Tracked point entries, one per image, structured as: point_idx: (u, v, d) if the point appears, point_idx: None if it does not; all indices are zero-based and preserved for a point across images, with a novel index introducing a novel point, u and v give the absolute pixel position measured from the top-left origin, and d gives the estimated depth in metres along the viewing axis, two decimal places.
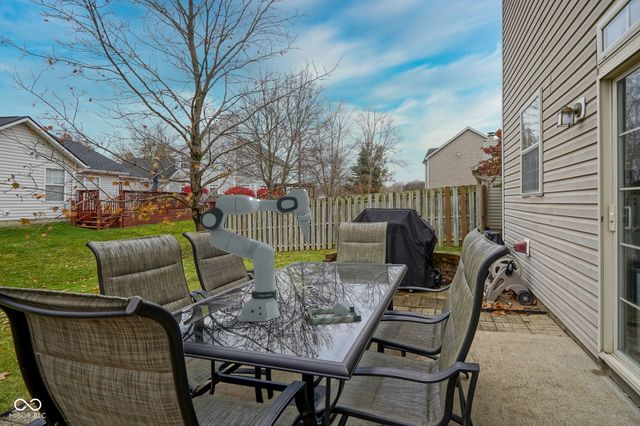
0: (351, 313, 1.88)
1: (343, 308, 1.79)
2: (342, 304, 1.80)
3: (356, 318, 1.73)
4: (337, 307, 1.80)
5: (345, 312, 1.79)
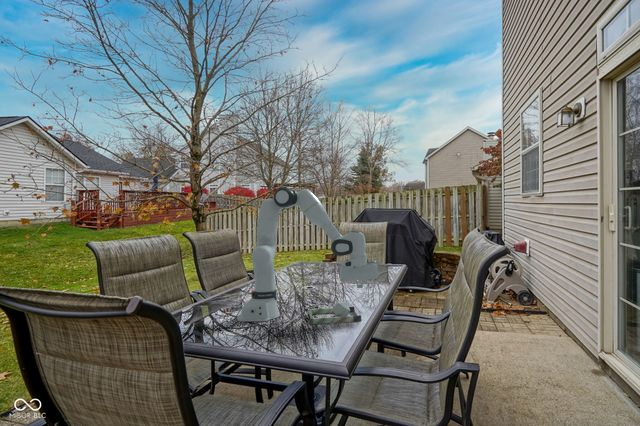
0: (351, 313, 1.88)
1: (343, 308, 1.79)
2: (342, 304, 1.80)
3: (356, 318, 1.73)
4: (337, 307, 1.80)
5: (345, 312, 1.79)
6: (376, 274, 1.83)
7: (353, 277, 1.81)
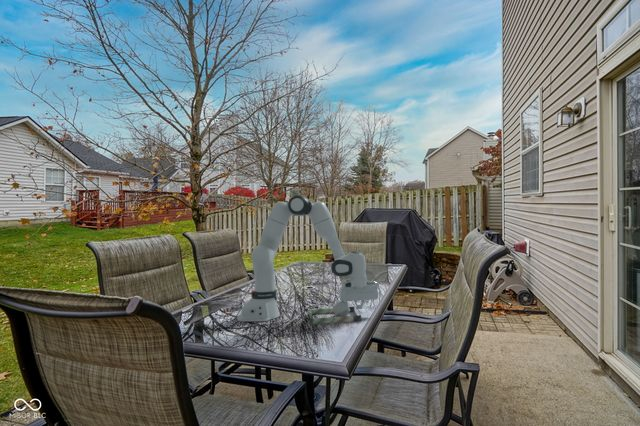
0: (351, 313, 1.88)
1: (343, 308, 1.79)
2: (342, 304, 1.80)
3: (356, 318, 1.73)
4: (337, 307, 1.80)
5: (345, 312, 1.79)
6: (376, 295, 1.82)
7: (353, 298, 1.81)
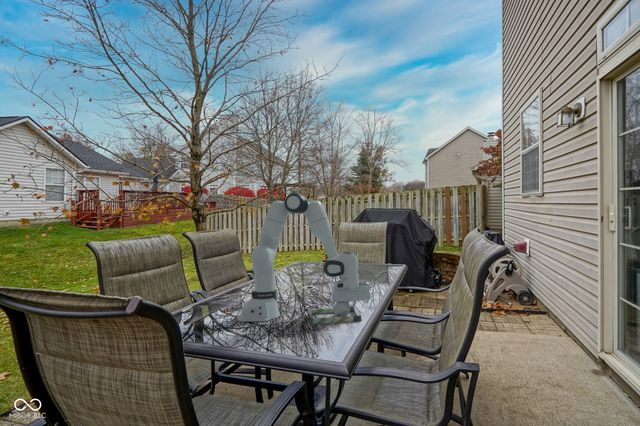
0: (351, 313, 1.88)
1: (343, 308, 1.79)
2: (342, 304, 1.80)
3: (356, 318, 1.73)
4: (337, 307, 1.80)
5: (345, 312, 1.79)
6: (368, 296, 1.82)
7: (345, 299, 1.81)
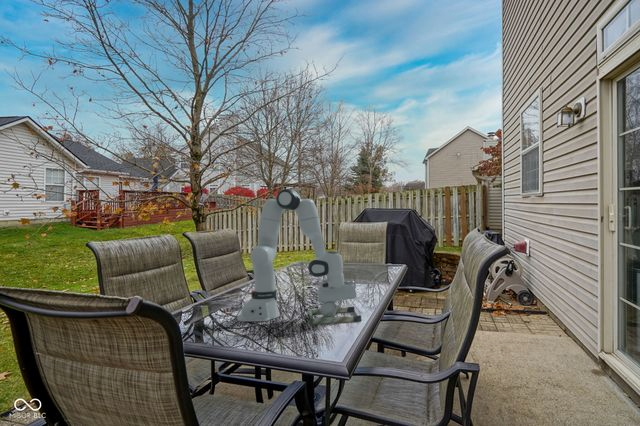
0: (351, 313, 1.88)
1: (330, 308, 1.78)
2: (328, 304, 1.79)
3: (356, 318, 1.73)
4: (323, 307, 1.79)
5: (332, 312, 1.78)
6: (354, 294, 1.81)
7: (330, 298, 1.80)
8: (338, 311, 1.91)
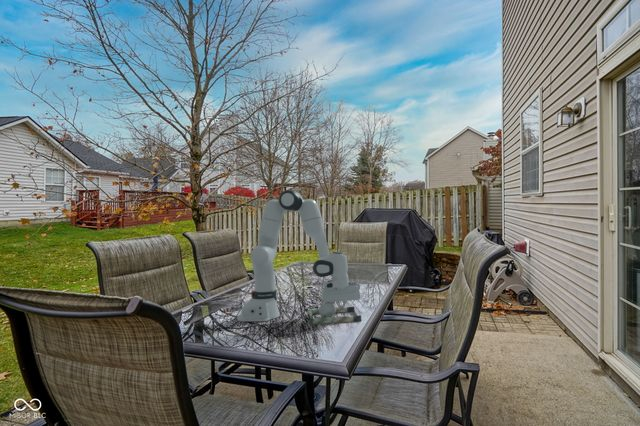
0: (351, 313, 1.88)
1: (328, 309, 1.78)
2: (328, 305, 1.79)
3: (356, 318, 1.73)
4: (322, 308, 1.79)
5: (330, 313, 1.78)
6: (358, 296, 1.81)
7: (334, 299, 1.80)
8: (338, 311, 1.91)
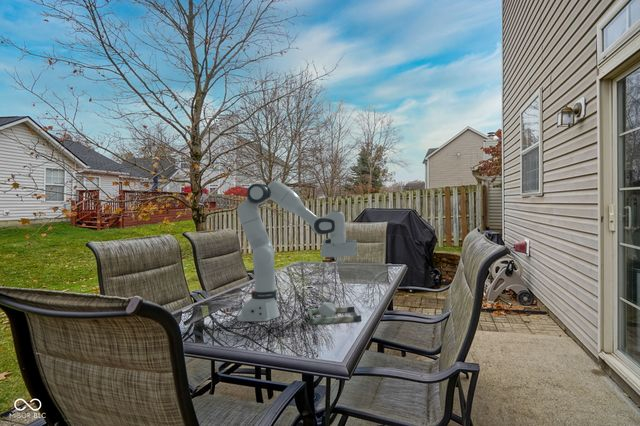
0: (351, 313, 1.88)
1: (328, 309, 1.78)
2: (328, 305, 1.79)
3: (356, 318, 1.73)
4: (322, 308, 1.79)
5: (330, 313, 1.78)
6: (354, 252, 1.94)
7: (332, 254, 1.93)
8: (338, 311, 1.91)
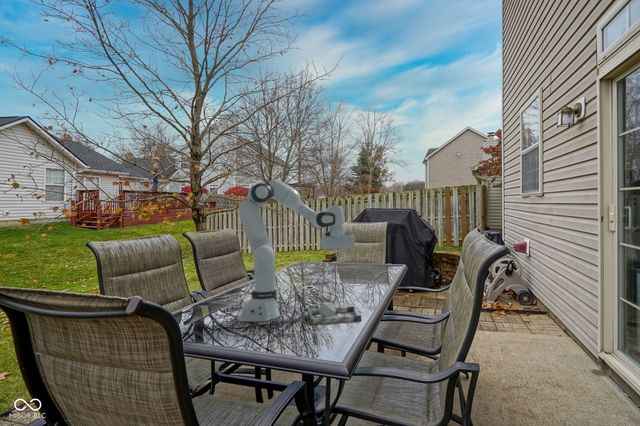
0: (351, 313, 1.88)
1: (328, 309, 1.78)
2: (328, 305, 1.79)
3: (356, 318, 1.73)
4: (322, 308, 1.79)
5: (330, 313, 1.78)
6: (353, 244, 2.04)
7: (332, 246, 2.03)
8: (338, 311, 1.91)
